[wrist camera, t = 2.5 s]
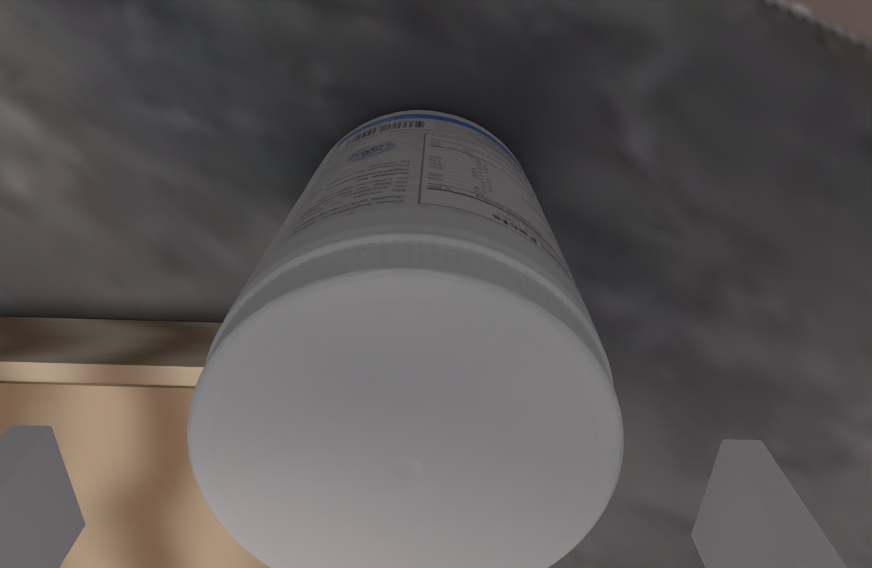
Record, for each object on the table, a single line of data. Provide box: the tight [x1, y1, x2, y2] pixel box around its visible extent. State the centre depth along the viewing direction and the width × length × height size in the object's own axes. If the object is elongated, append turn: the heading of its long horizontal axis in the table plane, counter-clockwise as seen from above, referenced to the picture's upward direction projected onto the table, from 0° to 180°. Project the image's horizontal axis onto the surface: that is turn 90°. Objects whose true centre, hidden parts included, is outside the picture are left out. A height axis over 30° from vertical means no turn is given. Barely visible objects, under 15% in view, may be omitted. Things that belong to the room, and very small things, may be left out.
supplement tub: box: [187, 110, 624, 568], centre depth 19 cm, size 10×10×15 cm
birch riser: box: [0, 316, 270, 568], centre depth 30 cm, size 15×15×4 cm
